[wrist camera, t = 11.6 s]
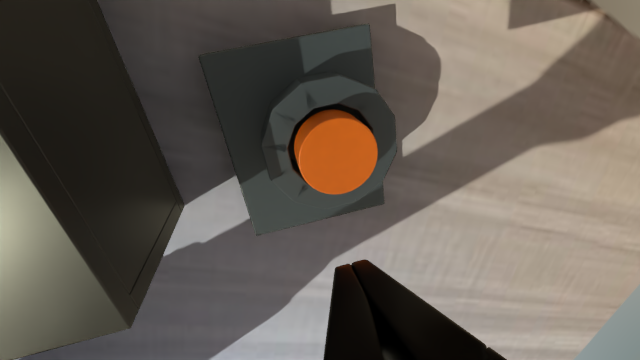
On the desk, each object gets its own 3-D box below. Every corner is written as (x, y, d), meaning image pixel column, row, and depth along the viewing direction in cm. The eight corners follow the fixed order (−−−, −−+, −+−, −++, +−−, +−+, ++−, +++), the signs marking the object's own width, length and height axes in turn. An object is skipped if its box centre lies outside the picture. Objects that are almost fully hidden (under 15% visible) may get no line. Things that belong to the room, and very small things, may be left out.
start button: (369, 170, 16) (381, 185, 14) (301, 186, 15) (306, 202, 14) (361, 101, 14) (374, 109, 13) (286, 117, 14) (290, 127, 12)
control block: (378, 191, 20) (401, 218, 17) (256, 221, 19) (255, 255, 16) (363, 24, 16) (390, 19, 13) (203, 54, 15) (189, 57, 12)
